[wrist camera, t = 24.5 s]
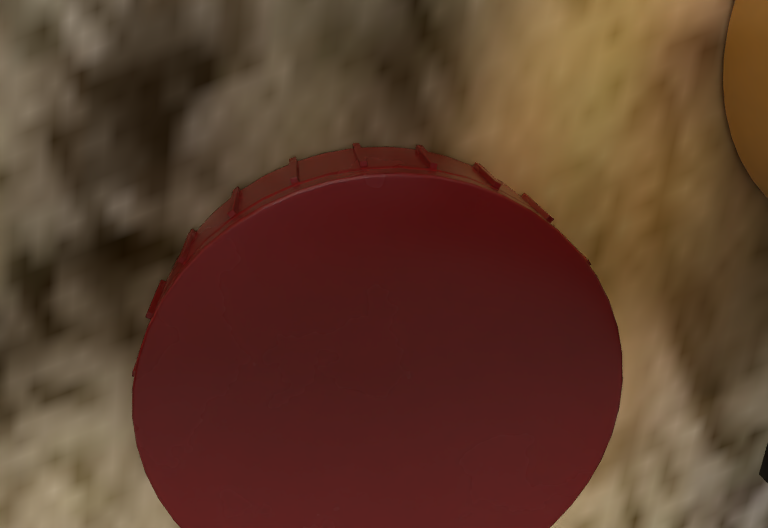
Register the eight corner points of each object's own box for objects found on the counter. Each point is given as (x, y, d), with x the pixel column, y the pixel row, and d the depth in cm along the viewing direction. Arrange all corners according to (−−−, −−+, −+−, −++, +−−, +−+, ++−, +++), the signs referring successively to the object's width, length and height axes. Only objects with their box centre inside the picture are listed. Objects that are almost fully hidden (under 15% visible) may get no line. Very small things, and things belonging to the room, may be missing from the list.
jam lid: (617, 149, 12) (670, 176, 11) (551, 523, 15) (585, 591, 13) (134, 134, 11) (107, 162, 9) (161, 540, 14) (144, 617, 12)
